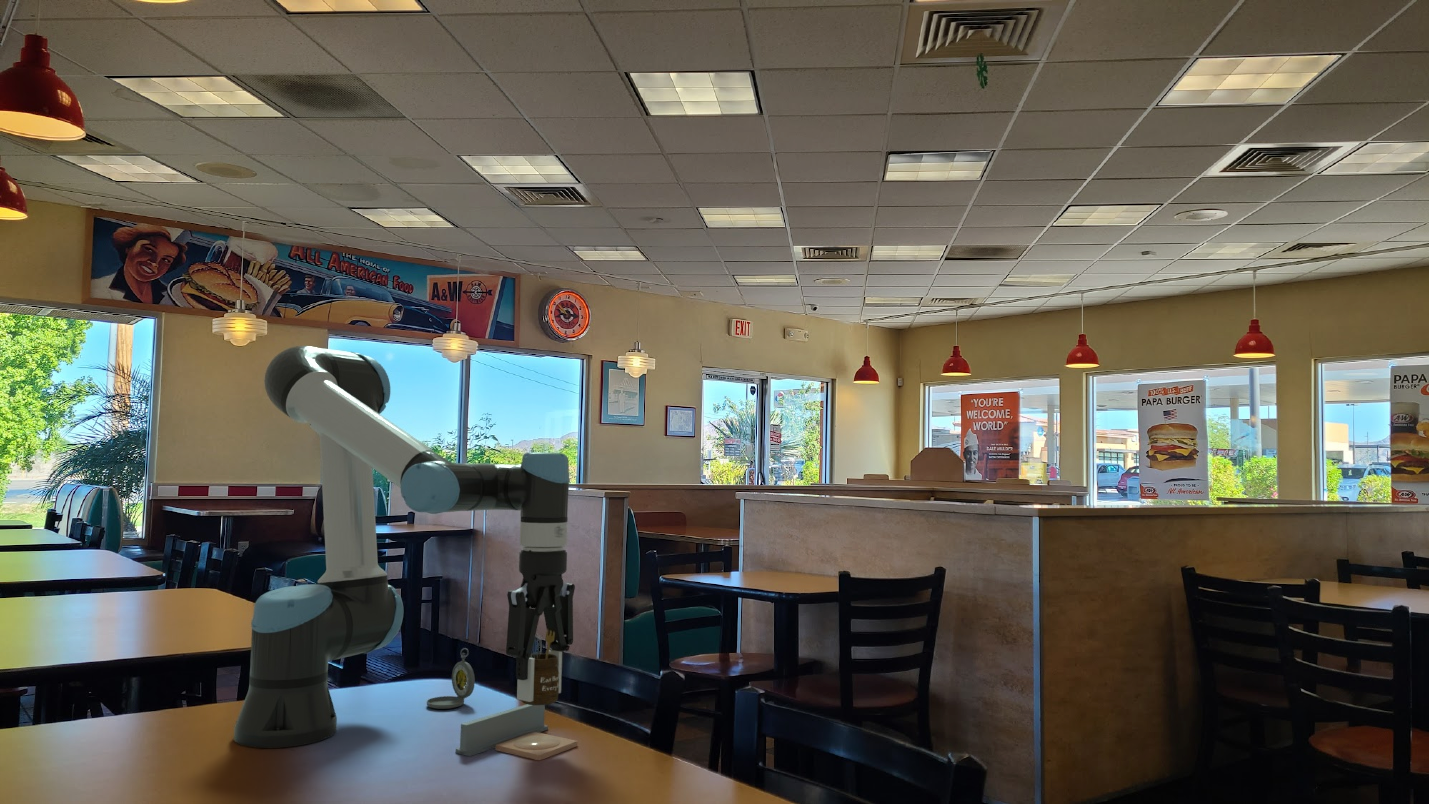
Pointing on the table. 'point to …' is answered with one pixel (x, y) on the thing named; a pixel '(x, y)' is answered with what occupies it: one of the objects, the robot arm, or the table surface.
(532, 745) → the coaster
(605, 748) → the table surface
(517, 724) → the low wall
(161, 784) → the table surface
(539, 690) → the utensil holder
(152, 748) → the table surface
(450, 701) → the pocket watch
